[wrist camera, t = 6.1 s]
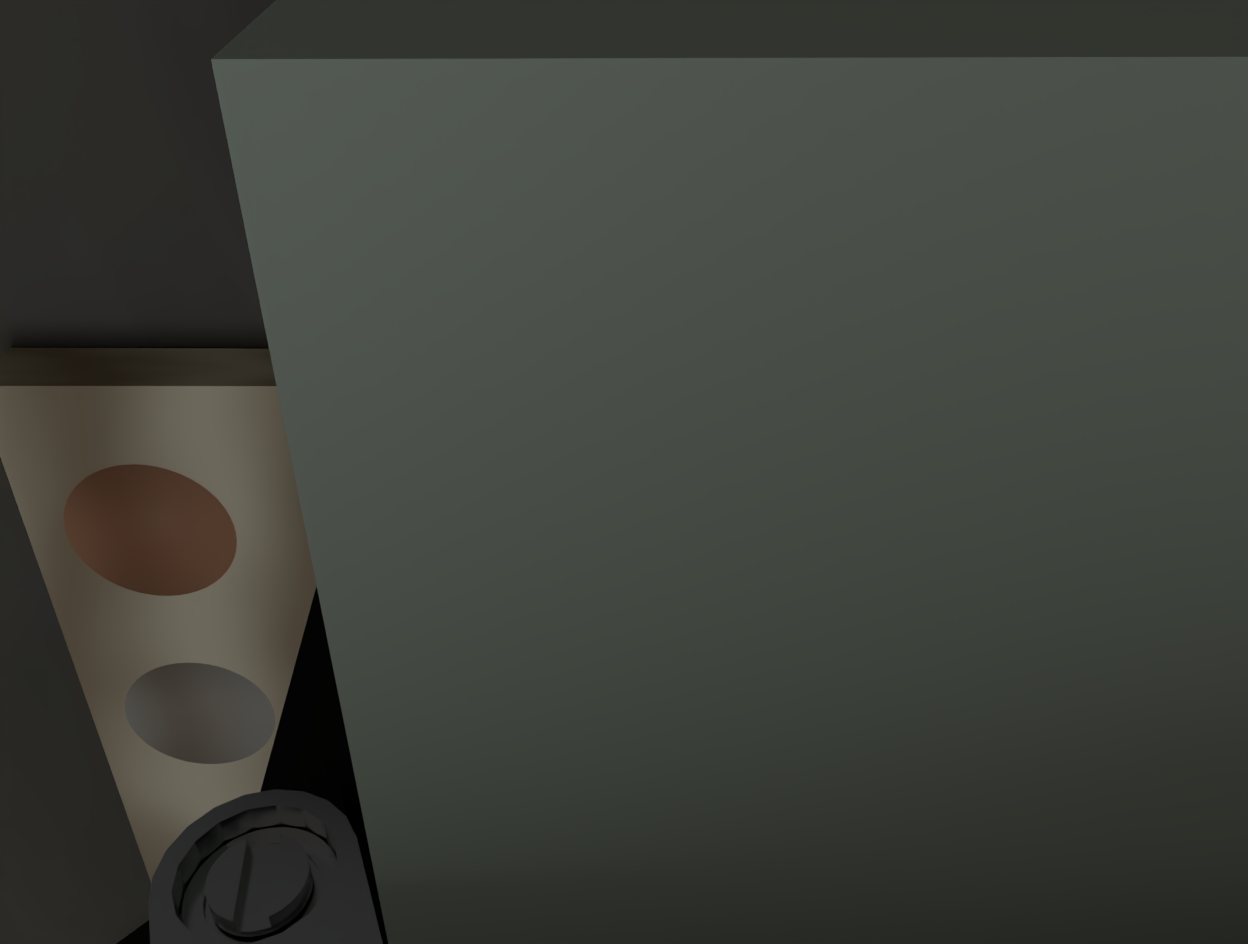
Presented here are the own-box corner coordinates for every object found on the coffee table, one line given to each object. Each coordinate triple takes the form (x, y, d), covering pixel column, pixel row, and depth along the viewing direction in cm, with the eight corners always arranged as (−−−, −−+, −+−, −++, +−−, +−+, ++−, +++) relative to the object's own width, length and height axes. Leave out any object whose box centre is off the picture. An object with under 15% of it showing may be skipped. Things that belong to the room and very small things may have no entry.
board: (580, 349, 28) (585, 423, 25) (572, 859, 40) (575, 952, 37) (10, 347, 27) (-61, 424, 24) (180, 871, 39) (149, 968, 36)
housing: (1102, -141, 9) (2182, 57, 3) (879, 812, 16) (1075, 1423, 10) (438, -147, 8) (211, 59, 3) (511, 829, 15) (493, 1471, 10)
